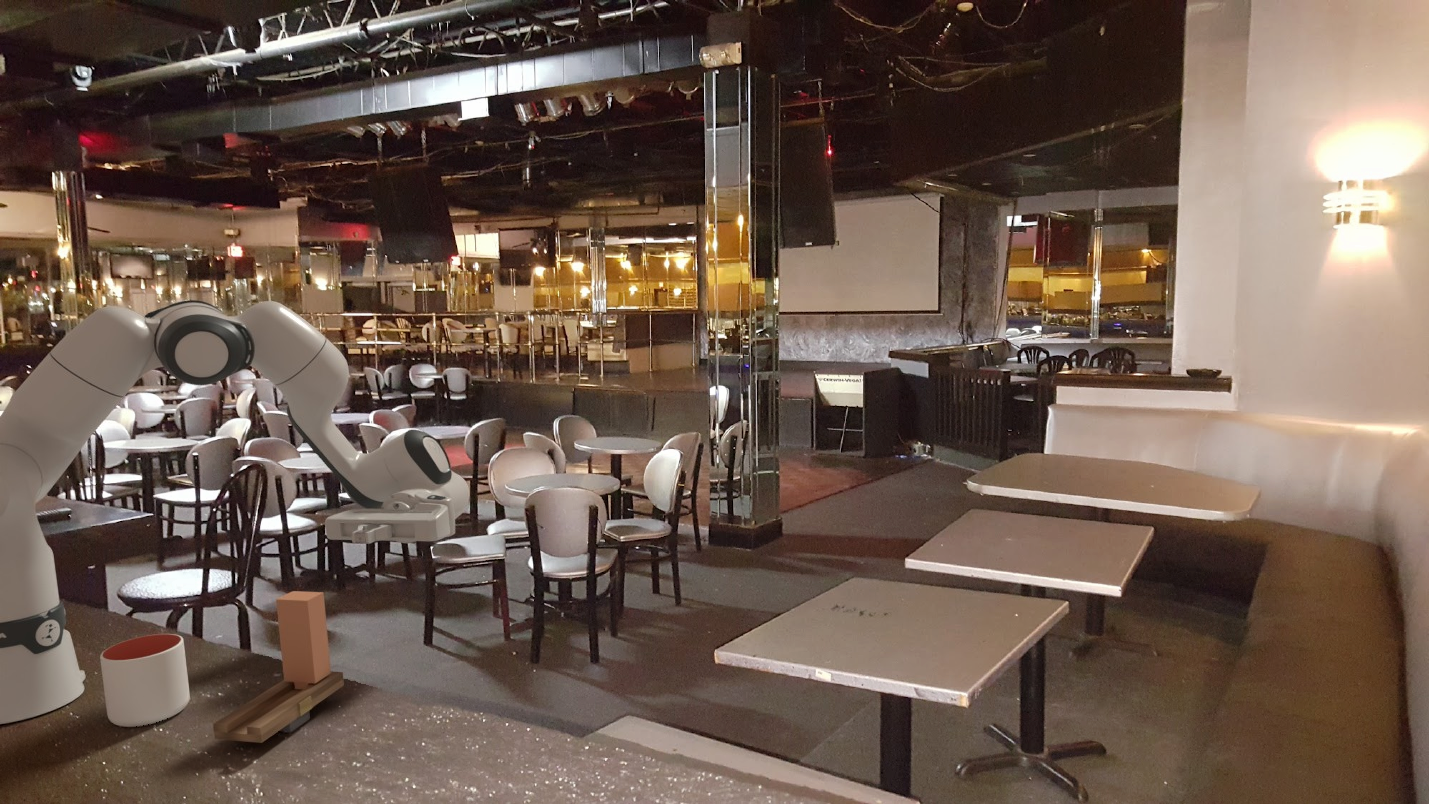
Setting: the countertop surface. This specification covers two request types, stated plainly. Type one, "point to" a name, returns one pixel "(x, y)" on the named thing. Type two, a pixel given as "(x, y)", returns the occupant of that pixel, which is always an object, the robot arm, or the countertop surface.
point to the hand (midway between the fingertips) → (359, 538)
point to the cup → (145, 679)
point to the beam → (276, 710)
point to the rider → (303, 637)
